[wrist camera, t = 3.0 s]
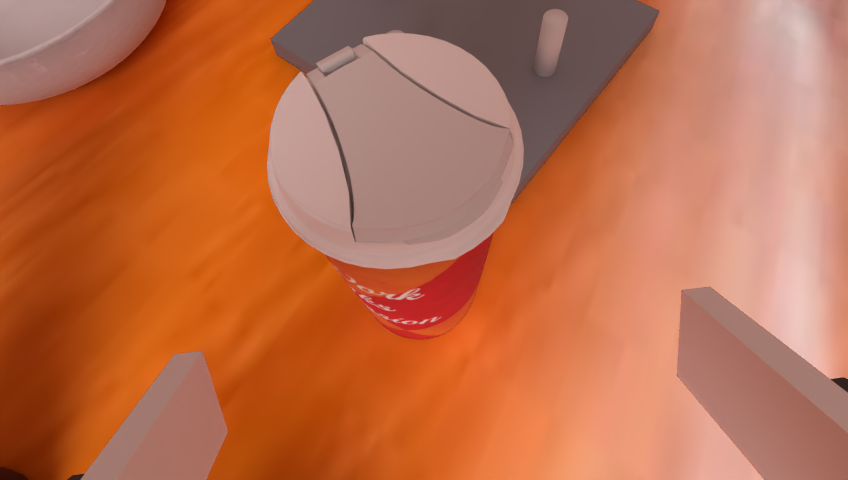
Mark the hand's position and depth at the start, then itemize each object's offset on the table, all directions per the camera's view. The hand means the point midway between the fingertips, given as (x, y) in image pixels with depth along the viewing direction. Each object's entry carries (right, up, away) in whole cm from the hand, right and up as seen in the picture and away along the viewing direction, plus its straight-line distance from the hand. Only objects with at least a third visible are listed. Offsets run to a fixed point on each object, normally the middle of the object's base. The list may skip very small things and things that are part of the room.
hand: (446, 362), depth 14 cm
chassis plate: (+2, +17, +22) cm, 28 cm away
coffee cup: (-1, +1, +15) cm, 15 cm away
